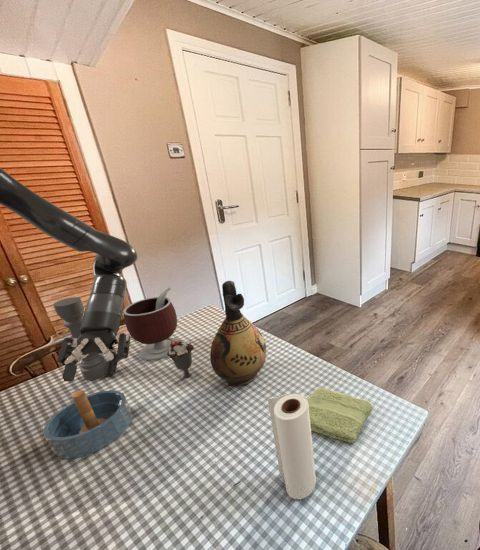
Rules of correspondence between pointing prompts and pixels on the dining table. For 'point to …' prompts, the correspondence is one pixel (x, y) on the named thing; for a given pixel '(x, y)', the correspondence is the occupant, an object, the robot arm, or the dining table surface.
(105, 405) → the bowl
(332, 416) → the washcloth
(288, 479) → the paper towel roll
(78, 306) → the candle holder
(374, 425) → the dining table surface
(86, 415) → the wooden stamp
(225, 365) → the ceramic jug
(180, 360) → the sundae
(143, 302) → the mate gourd
